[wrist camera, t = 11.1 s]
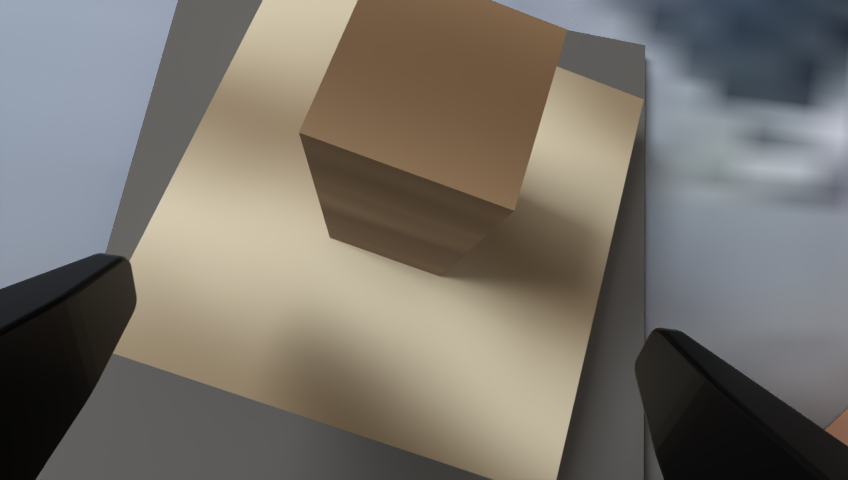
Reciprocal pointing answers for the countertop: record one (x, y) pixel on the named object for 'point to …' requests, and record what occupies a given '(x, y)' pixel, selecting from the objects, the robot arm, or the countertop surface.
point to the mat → (296, 435)
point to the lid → (393, 228)
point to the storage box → (840, 428)
